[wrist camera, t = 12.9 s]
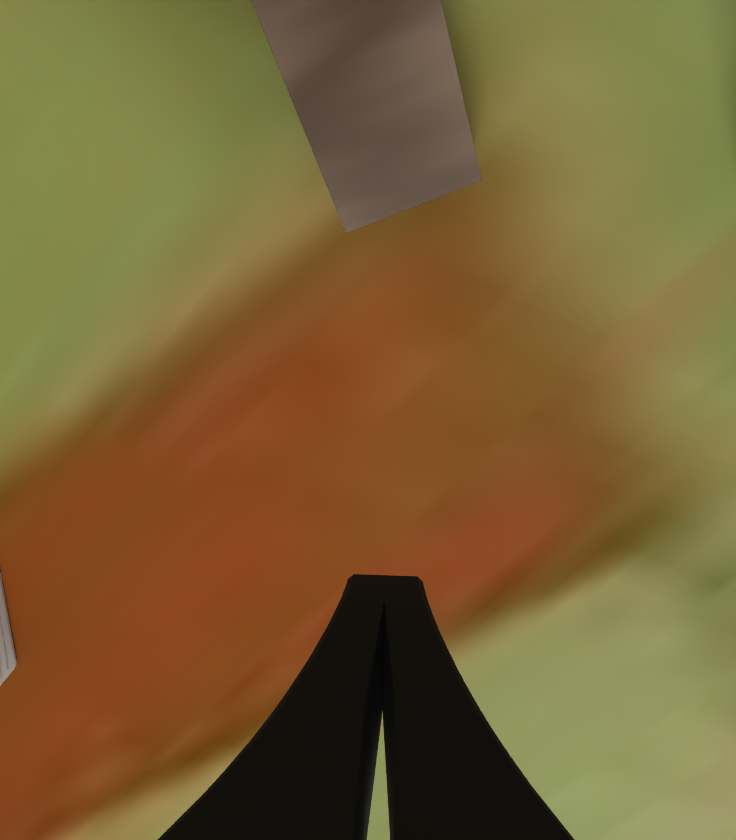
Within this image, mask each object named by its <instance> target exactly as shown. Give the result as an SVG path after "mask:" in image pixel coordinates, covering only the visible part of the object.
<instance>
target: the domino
mask: <svg viewBox="0 0 736 840" xmlns="http://www.w3.org/2000/svg"><path fill="white" fill-rule="evenodd" d="M252 2H253V5H254V7H255V10H256V12H257V15H258V17H259V20H260V22H261V25H262V27H263V29H264V32H265V34H266V37H267V39H268V42H269V44H270V47H271V49H272V52H273V54H274V57H275V59H276V61H277V64H278V66H279V69H280V71H281V74H282V76H283V79H284V81H285V84H286V86H287V89H288V91H289V94H290V96H291V98H292V101H293V103H294V106H295V108H296V111H297V113H298V116H299V118H300V121H301V123H302V126H303V128H304V130H305V133H306V135H307V138H308V140H309V143H310V145H311V148H312V150H313V153H314V155H315V158H316V160H317V163H318V165H319V167H320V170H321V172H322V175H323V177H324V180H325V182H326V185H327V187H328V190H329V192H330V195H331V197H332V199H333V202H334V204H335V207H336V209H337V212H338V214H339V217H340V219H341V222H342V224H343V227H344V229H345V232H349V231H352V230H354V229H357V228H359V227H362V226H365V225H367V224H370V223H372V222H375V221H378V220H380V219H383V218H385V217H388V216H391V215H393V214H396V213H398V212H401V211H404V210H406V209H409V208H411V207H414V206H417V205H419V204H422V203H424V202H427V201H430V200H432V199H435V198H437V197H440V196H442V195H445V194H448V193H450V192H453V191H455V190H458V189H461V188H463V187H466V186H468V185H471V184H474V183H476V182H479V181H481V180H482V178H481V174H480V169H479V165H478V160H477V156H476V152H475V147H474V143H473V139H472V134H471V130H470V125H469V121H468V117H467V112H466V108H465V104H464V99H463V95H462V91H461V86H460V82H459V77H458V73H457V69H456V64H455V60H454V56H453V51H452V47H451V42H450V38H449V34H448V29H447V25H446V21H445V16H444V12H443V7H442V3H441V0H252Z"/></svg>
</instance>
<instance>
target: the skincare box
mask: <svg viewBox="0 0 736 840" xmlns="http://www.w3.org/2000/svg"><path fill="white" fill-rule="evenodd" d="M16 661H17V660H16V655H15V650H14V644H13V639H12V634H11V628H10V623H9V617H8V612H7V606H6V601H5V595H4V589H3V584H2V578H1V573H0V686H1V684H2V683H3V682H4V681H5V679H6V678H7V677H8V676H9V674H10V673H11V672H12V671H13V670H14V668H15V666H16Z"/></svg>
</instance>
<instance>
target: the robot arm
mask: <svg viewBox="0 0 736 840" xmlns="http://www.w3.org/2000/svg"><path fill="white" fill-rule="evenodd" d="M382 710H383V725H384V742H385V759H386V775H387V792H388V808H389V825H390V840H574V839H573V837H572V836H571V835H570V834H569V832H568V831H567V830H566V829H565V827H564V826H563V825H562V824H561V822H560V821H559V820H558V818H557V817H556V816H555V815H554V813H553V812H552V811H551V810H550V808H549V807H548V806H547V805H546V803H545V802H544V801H543V800H542V798H541V797H540V796H539V795H538V793H537V792H536V791H535V790H534V788H533V787H532V786H531V784H530V783H529V782H528V780H527V779H526V777H525V776H524V775H523V773H522V772H521V771H520V769H519V768H518V766H517V765H516V764H515V762H514V761H513V759H512V758H511V757H510V755H509V754H508V752H507V751H506V749H505V748H504V746H503V745H502V743H501V742H500V740H499V739H498V737H497V736H496V734H495V733H494V731H493V730H492V728H491V726H490V725H489V723H488V722H487V720H486V718H485V717H484V715H483V713H482V712H481V710H480V708H479V707H478V705H477V703H476V702H475V700H474V698H473V696H472V695H471V693H470V691H469V689H468V688H467V686H466V684H465V682H464V680H463V678H462V677H461V675H460V673H459V671H458V669H457V667H456V665H455V663H454V661H453V659H452V657H451V655H450V653H449V651H448V649H447V647H446V644H445V642H444V640H443V638H442V636H441V634H440V631H439V629H438V627H437V624H436V622H435V619H434V617H433V614H432V612H431V609H430V606H429V603H428V600H427V597H426V593H425V590H424V585H423V582H422V581H421V580H420V579H419V578H418V577H417V576H388V575H359V574H354V575H353V576H351V577H350V578H349V579H348V581H347V584H346V587H345V590H344V592H343V595H342V597H341V600H340V602H339V604H338V606H337V608H336V610H335V612H334V614H333V616H332V618H331V620H330V622H329V624H328V626H327V628H326V630H325V632H324V633H323V635H322V637H321V639H320V640H319V642H318V644H317V646H316V647H315V649H314V651H313V653H312V654H311V656H310V658H309V659H308V661H307V662H306V664H305V666H304V667H303V669H302V670H301V672H300V673H299V675H298V676H297V678H296V679H295V681H294V682H293V684H292V685H291V687H290V688H289V690H288V691H287V693H286V694H285V696H284V697H283V699H282V700H281V701H280V703H279V704H278V705H277V707H276V708H275V710H274V711H273V712H272V714H271V715H270V716H269V718H268V719H267V720H266V721H265V723H264V724H263V725H262V727H261V728H260V729H259V730H258V732H257V733H256V734H255V735H254V737H253V738H252V739H251V740H250V742H249V743H248V744H247V745H246V746H245V748H244V749H243V750H242V751H241V752H240V753H239V755H238V756H237V757H236V758H235V759H234V760H233V762H232V763H231V764H230V765H229V766H228V767H227V769H226V770H225V771H224V772H223V773H222V774H221V775H220V776H219V778H218V779H217V780H216V781H215V782H214V783H213V784H212V785H211V786H210V787H209V788H208V790H207V791H206V792H205V793H204V794H203V795H202V796H201V797H200V798H199V799H198V800H197V801H196V802H195V803H194V804H193V805H192V806H191V807H190V808H189V809H188V810H187V811H186V812H185V813H184V814H183V815H182V816H181V817H180V818H179V819H178V820H177V821H176V822H175V823H174V824H173V825H172V826H171V827H170V828H169V829H168V830H167V831H166V832H165V833H164V834H163V835H162V836H161V837H160V838H159V839H158V840H367V831H368V823H369V815H370V807H371V799H372V791H373V783H374V775H375V767H376V759H377V751H378V742H379V734H380V726H381V718H382Z"/></svg>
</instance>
